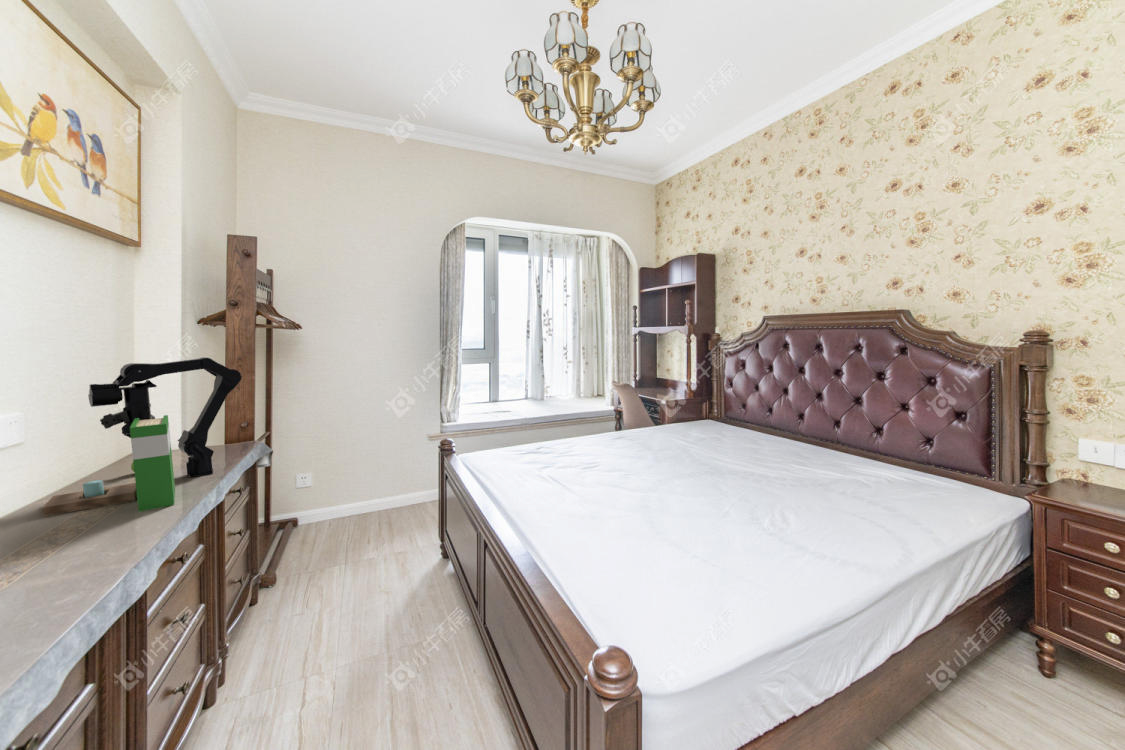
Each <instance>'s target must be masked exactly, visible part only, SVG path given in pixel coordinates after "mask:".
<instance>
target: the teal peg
mask: <svg viewBox="0 0 1125 750" xmlns="http://www.w3.org/2000/svg"><path fill="white" fill-rule="evenodd" d="M104 488H105V487H104V481H103V480H99V479H98V480H92V481H87V482H85V483H83V484H82V489H83V490H82V491H84V498H88V497H94V496H100V495H104Z"/></svg>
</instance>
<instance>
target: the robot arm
mask: <svg viewBox="0 0 1125 750" xmlns="http://www.w3.org/2000/svg"><path fill="white" fill-rule="evenodd" d="M198 370H204V371H206V372H207V373H209V374H211V376H214V377H215V379H214V381H213V390H212V392H211V394H210V396H209V397H208V399H207V401H206V403H205V405H204V407H203V409H202V410H201V412H200V414H199V416H198V418H197V420H196V422H195V423H194V425H193V426H192V427H191V428H190V429H189V430H188V431H187V430H185V429H184V430H183V431H182V433H181V436H180V438H179V439H177V442H178V444H177V447H178V449H179V451H181V452H183V453H185V454H186V455H187V457H188V458H187V461H186V464H185V465H186V474H187V476H188V478H192V477H193V478H194V477H200V476H207V475H211V474H214V468H213V459H212V457H213V455H214V453H215V452H214V450H212V449H211V448H209V447H208V446H207V442H208V434H209V430H210V428H211V426H212V425H213V423H214V421H215V420H216V417H217V415H218V413H219V412H220V410H221V408H222V406H223V405H224V404H223V403H224V402H225V400H226V398H227V396H228V395H229V394H230V393H231V392H232V391H233V390H235V388H236V387H237V386H238V385H239V383H240V382H241V380H242V377H243V375H242V374H241V372H240V371H239V370H237V369H233V368H229V367H227V366H224V365H223V364H221V363H219V362H217V361H216V360H214V359H212V358H210V357H199V358H193V359H185V360H184V359H183V360H176V361H169V362H161V363H145V362H144V363H141V362H138V363H136V362H135V363H133V362H132V363H126V364H124V365H123V366H122V367H121V368H120V370H119V375H118V377H116V379H115V380H114V381H113V382H112V383H100V384H99V383H93V384H92V383H91V384H89V386H88V387H89V391H88V393H89V394H88V401H89V405H90V407H92V408H93V407H94V408H95V407H102V406H103V407H104V406H112V405H113V406H114V405H115V406H116V405H119V402H121V401H123V399H124V407H123V408H122V411H119V412H116V413H108V414H105V415H103V417H102V418H100V419H99V421H100V422H101V423H100V424H101V426H103V428H104V429H107V430H108V429H111V427H113V426H116V425H119V424H122V423H123V424H124V425H123V426H122V427H121V434H122V435H124V436H125V437H128V438H130V439H131V435H130V426H131V425H132V423H133V421H134V419H135V418H139V420H148V419H156V417H155V415H152V413H151V407H152V404H151V401H150V393H149V391H150V390H149V389H150V388H157V387H158V386H157V384H155V383H153V382H152V381H151V379H153V378H156V377H159V376H163V375H169V374H177V373H184V372H192V371H198ZM143 381H144V382H143ZM130 385H131V386H130ZM122 391H123V392H122Z"/></svg>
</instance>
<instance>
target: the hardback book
mask: <svg viewBox="0 0 1125 750" xmlns="http://www.w3.org/2000/svg"><path fill="white" fill-rule="evenodd" d="M130 435H131V438H130V443H131V452H132V463H134V471H133V472H134V481H135V482H134V483H136V491H137V498H136V499H137V500H136V501H137V507H138V510H137V511H138V512H139V513H140V512H145V511H150V510H155V509H156V510H157V509H161V508H166V507H172V506H175V497H176V486H175V485H176V484H175V474H174V464H173V455H172V446H171V445H172V444H171V433H170V425H169V415H168V414H167V415H166V414H164V415H163V417H159V418H155V419H148V420H139V418H135V419H134V421H133V423H132V425H131V426H130Z"/></svg>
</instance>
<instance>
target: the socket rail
mask: <svg viewBox="0 0 1125 750" xmlns="http://www.w3.org/2000/svg"><path fill="white" fill-rule="evenodd" d="M103 488H104V495H100V496H94V497H88V498H84V490H82V491H76V492H71V493H70V492H69V493H63V494H57V495H53V496H52V497H51V498H50V499H49V500H48V501H47V502H46V503H45V504H44V505H43V506H42V507H41V509H42V516H43V517H47V516H54V515H59V514H66V513H70V512H71V511H72V512H76V511H82V510H87V509H94V508H98V507H104V506H110V505H116V504H122V503H128V502H133V501H137V500H136V499H137V491H136V482H133V483H127V484H121V485H114V486H108V487H103ZM72 512H71V513H72Z"/></svg>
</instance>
